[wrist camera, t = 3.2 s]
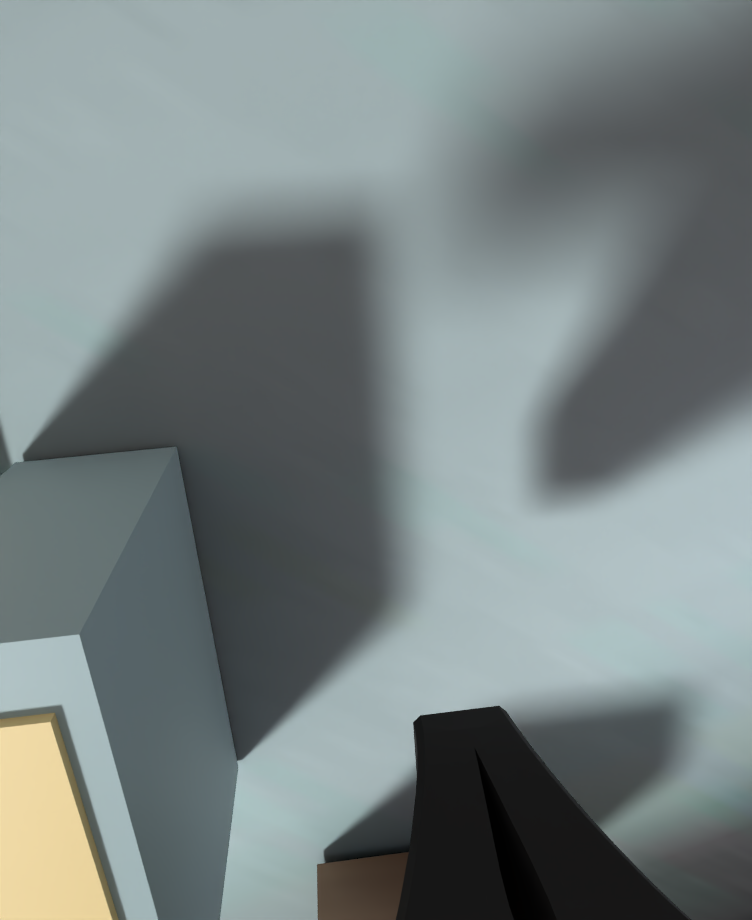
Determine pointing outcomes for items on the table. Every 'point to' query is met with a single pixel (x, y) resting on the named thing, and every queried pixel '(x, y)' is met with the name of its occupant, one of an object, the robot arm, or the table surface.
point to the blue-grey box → (108, 697)
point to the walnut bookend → (361, 888)
